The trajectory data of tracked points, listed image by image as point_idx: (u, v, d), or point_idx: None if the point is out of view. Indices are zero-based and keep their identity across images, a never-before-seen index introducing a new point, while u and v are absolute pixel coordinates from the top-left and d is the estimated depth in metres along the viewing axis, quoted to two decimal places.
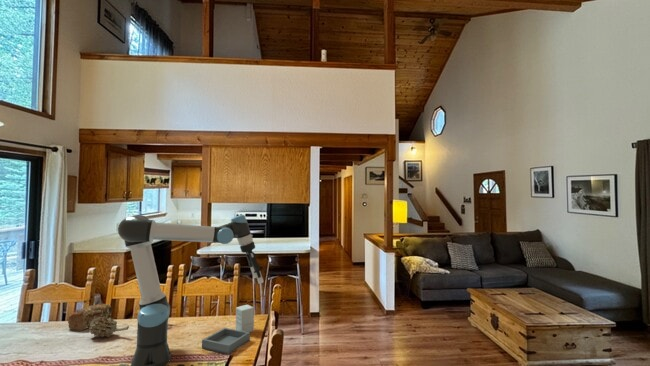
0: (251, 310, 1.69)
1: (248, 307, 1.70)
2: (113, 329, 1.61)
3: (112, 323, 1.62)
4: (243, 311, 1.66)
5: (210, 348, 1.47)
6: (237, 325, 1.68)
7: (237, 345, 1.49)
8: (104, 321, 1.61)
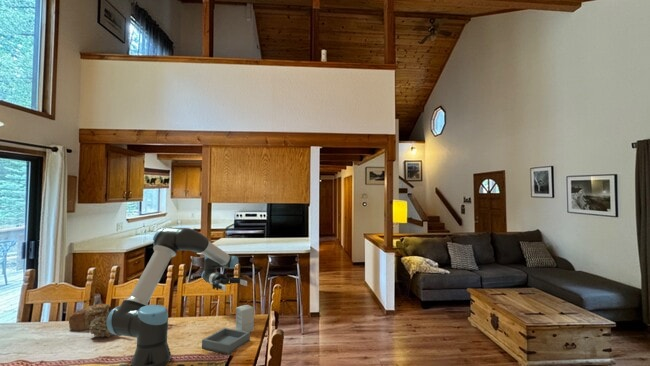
0: (251, 310, 1.69)
1: (248, 307, 1.70)
2: None
3: None
4: (243, 311, 1.66)
5: (210, 348, 1.47)
6: (237, 325, 1.68)
7: (237, 345, 1.49)
8: (104, 321, 1.61)
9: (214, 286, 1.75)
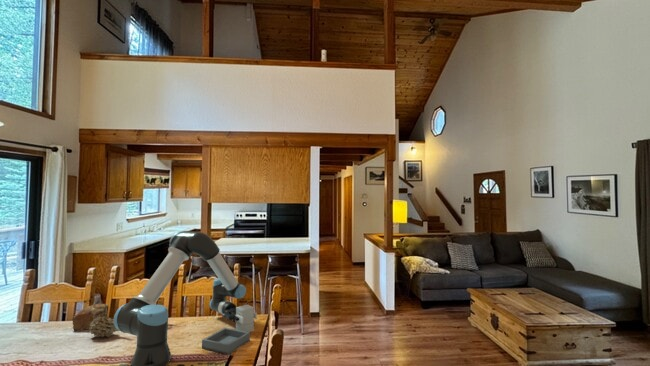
0: (251, 310, 1.69)
1: (248, 307, 1.70)
2: (113, 329, 1.61)
3: (112, 323, 1.62)
4: (243, 311, 1.66)
5: (210, 348, 1.47)
6: (237, 325, 1.68)
7: (237, 345, 1.49)
8: (104, 321, 1.61)
9: (231, 318, 1.67)
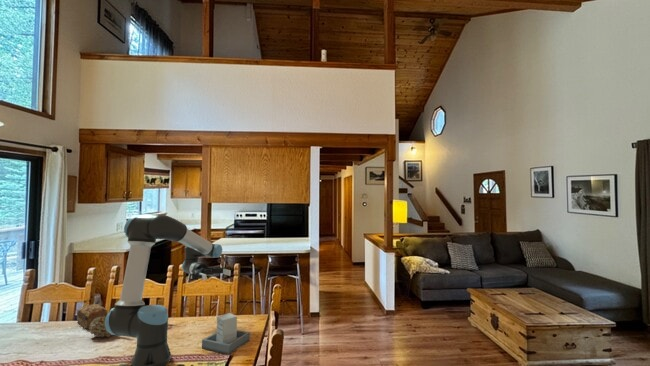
0: (234, 319, 1.53)
1: (230, 316, 1.54)
2: None
3: None
4: (225, 321, 1.49)
5: (210, 348, 1.47)
6: (218, 336, 1.52)
7: (237, 345, 1.49)
8: (104, 321, 1.61)
9: (194, 275, 1.60)
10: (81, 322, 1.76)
